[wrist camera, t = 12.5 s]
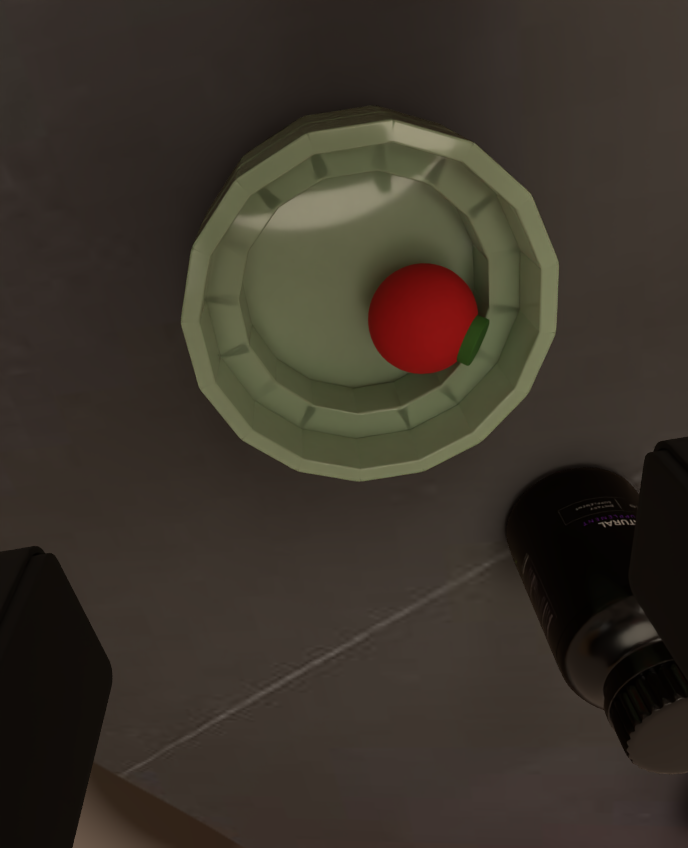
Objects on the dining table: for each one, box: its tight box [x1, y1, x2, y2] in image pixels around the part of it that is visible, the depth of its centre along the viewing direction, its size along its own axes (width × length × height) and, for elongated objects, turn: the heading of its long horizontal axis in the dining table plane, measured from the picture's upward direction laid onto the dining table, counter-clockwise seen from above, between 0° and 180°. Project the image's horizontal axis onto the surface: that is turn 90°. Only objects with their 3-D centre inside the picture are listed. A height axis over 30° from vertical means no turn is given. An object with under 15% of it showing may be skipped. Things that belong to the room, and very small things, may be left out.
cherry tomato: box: [368, 263, 489, 374], centre depth 24 cm, size 4×4×4 cm
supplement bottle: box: [506, 467, 688, 774], centre depth 28 cm, size 7×7×12 cm
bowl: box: [181, 105, 559, 482], centre depth 23 cm, size 12×12×5 cm
